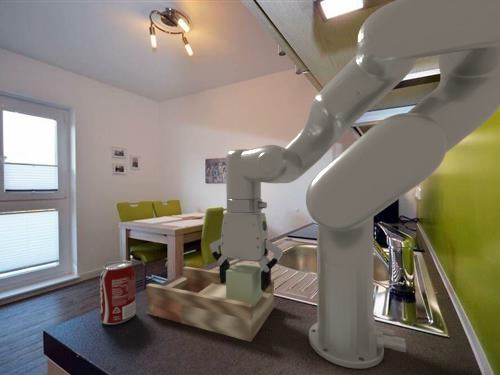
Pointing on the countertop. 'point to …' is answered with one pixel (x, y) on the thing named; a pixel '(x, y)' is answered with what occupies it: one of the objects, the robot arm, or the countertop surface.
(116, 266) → the soda can
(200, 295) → the channel track
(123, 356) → the countertop surface
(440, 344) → the countertop surface
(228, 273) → the sage block
